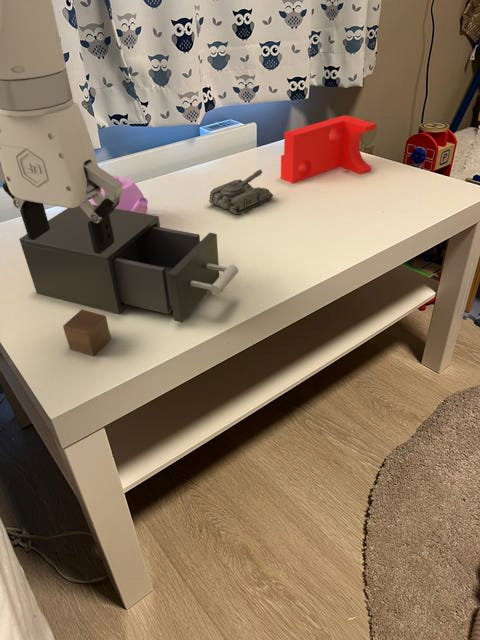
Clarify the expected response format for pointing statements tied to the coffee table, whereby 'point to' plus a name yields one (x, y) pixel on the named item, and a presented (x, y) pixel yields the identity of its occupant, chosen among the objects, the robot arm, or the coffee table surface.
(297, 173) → the bracket
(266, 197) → the tank toy
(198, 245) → the pulled-out drawer
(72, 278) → the small drawer cabinet
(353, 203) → the coffee table surface
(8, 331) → the coffee table surface
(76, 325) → the block
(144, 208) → the teapot
